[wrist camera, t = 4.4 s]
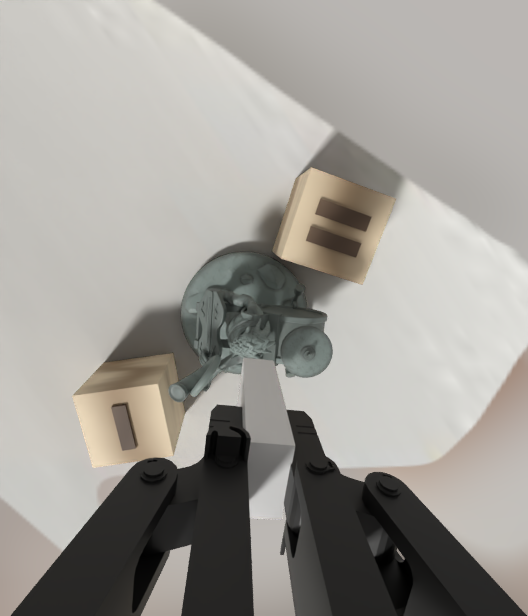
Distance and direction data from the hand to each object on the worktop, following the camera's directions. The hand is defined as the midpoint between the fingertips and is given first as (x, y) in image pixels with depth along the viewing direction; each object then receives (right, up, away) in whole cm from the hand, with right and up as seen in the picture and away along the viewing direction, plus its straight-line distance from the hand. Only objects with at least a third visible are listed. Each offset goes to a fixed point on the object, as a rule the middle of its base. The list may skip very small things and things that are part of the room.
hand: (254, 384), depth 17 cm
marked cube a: (-10, -3, +14) cm, 18 cm away
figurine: (-1, +3, +13) cm, 14 cm away
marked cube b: (+5, +10, +12) cm, 16 cm away
